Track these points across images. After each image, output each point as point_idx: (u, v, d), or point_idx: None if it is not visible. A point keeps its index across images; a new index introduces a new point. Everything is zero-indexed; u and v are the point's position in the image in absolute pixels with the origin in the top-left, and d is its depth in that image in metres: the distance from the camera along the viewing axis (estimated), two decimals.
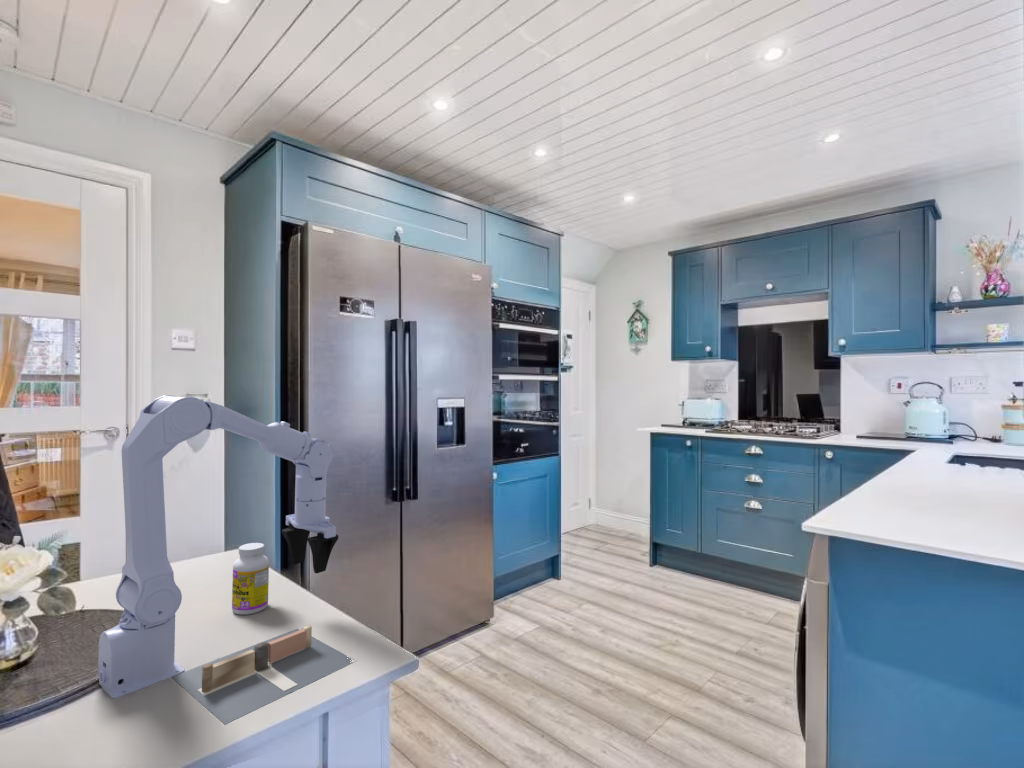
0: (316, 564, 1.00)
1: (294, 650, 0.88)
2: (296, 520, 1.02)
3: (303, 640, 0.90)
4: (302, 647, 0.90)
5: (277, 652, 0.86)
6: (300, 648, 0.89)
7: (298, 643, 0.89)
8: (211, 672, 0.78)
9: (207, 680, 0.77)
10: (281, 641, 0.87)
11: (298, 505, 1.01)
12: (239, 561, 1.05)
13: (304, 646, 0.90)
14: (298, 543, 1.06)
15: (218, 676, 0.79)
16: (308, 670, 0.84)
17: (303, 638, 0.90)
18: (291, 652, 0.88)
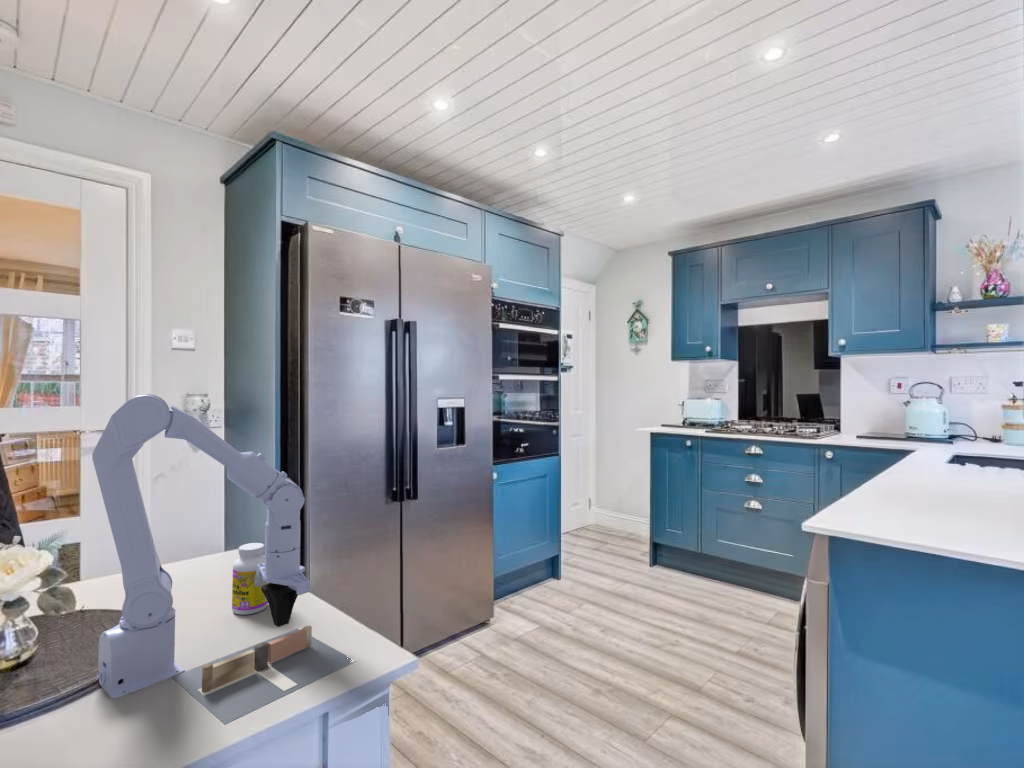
0: (277, 617, 0.92)
1: (294, 650, 0.88)
2: (266, 573, 0.91)
3: (303, 640, 0.90)
4: (302, 647, 0.90)
5: (277, 652, 0.86)
6: (300, 648, 0.89)
7: (298, 643, 0.89)
8: (211, 672, 0.78)
9: (207, 680, 0.77)
10: (281, 641, 0.87)
11: (268, 556, 0.91)
12: (239, 561, 1.05)
13: (304, 646, 0.90)
14: None
15: (218, 676, 0.79)
16: (308, 670, 0.84)
17: (303, 638, 0.90)
18: (291, 652, 0.88)
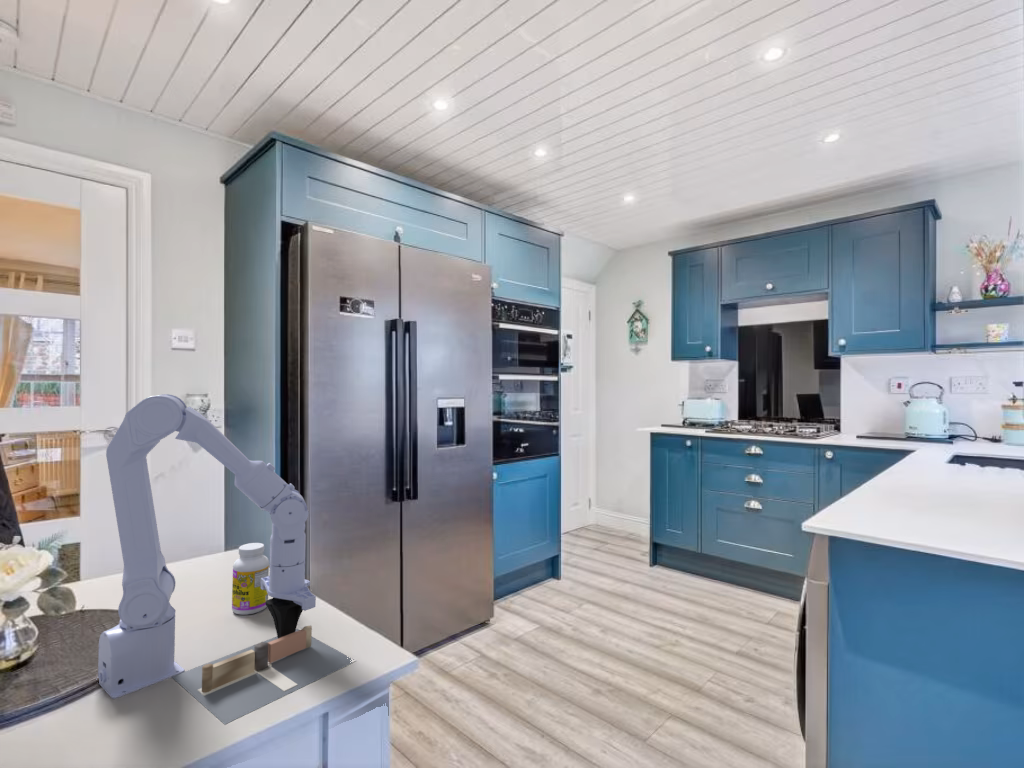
0: (282, 632, 0.90)
1: (294, 650, 0.88)
2: (271, 587, 0.89)
3: (303, 640, 0.90)
4: (302, 647, 0.90)
5: (277, 652, 0.86)
6: (300, 648, 0.89)
7: (298, 643, 0.89)
8: (211, 672, 0.78)
9: (207, 680, 0.77)
10: (281, 641, 0.87)
11: (273, 571, 0.89)
12: (239, 561, 1.05)
13: (304, 646, 0.90)
14: None
15: (218, 676, 0.79)
16: (308, 670, 0.84)
17: (303, 638, 0.90)
18: (291, 652, 0.88)
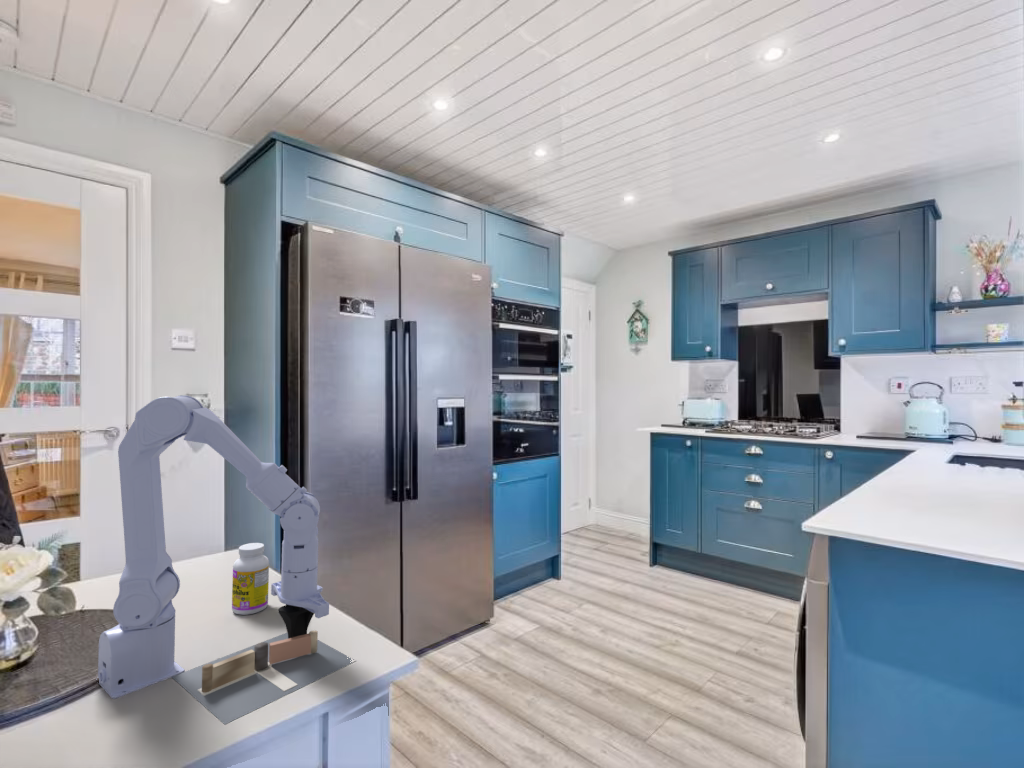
0: None
1: (297, 654, 0.87)
2: (282, 594, 0.87)
3: (308, 645, 0.88)
4: (306, 652, 0.88)
5: (278, 654, 0.85)
6: (304, 653, 0.88)
7: (301, 648, 0.88)
8: (211, 672, 0.78)
9: (207, 680, 0.77)
10: (282, 643, 0.86)
11: (285, 577, 0.86)
12: (239, 561, 1.05)
13: (308, 651, 0.88)
14: (298, 624, 0.89)
15: (218, 676, 0.79)
16: (308, 670, 0.84)
17: (307, 643, 0.88)
18: (294, 656, 0.87)
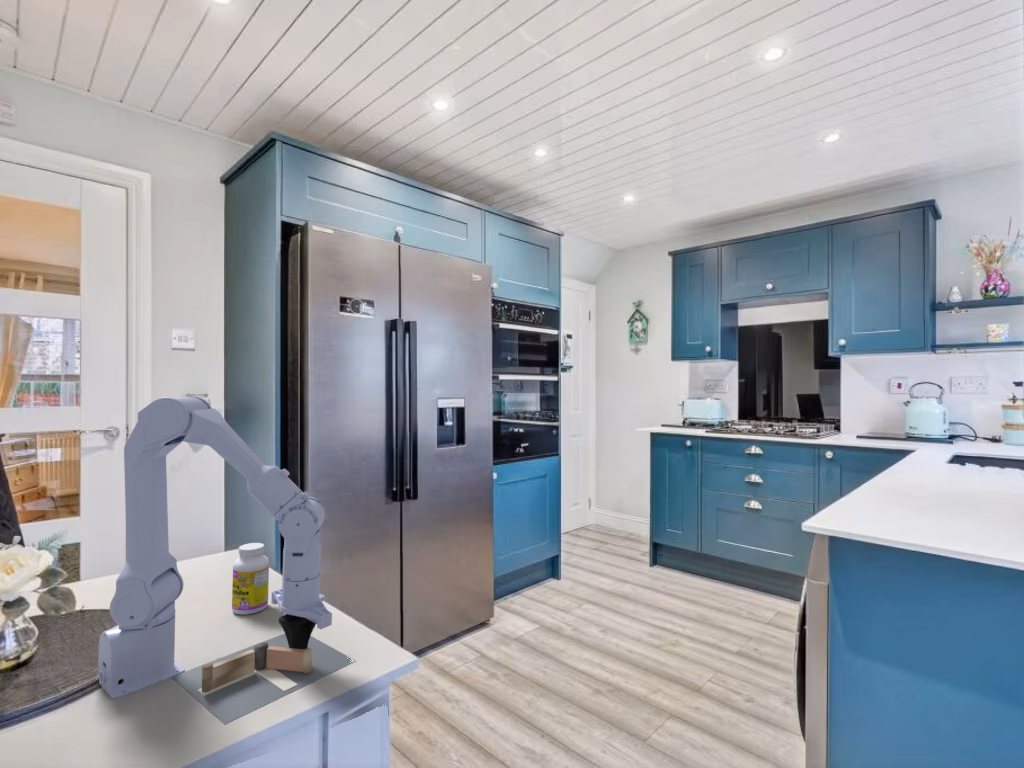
0: None
1: (290, 667, 0.83)
2: (283, 603, 0.83)
3: (300, 662, 0.83)
4: (298, 669, 0.83)
5: (273, 661, 0.84)
6: (296, 669, 0.83)
7: (294, 662, 0.83)
8: (211, 672, 0.78)
9: (207, 680, 0.77)
10: (277, 651, 0.83)
11: (286, 585, 0.83)
12: (239, 561, 1.05)
13: (300, 669, 0.83)
14: (299, 634, 0.85)
15: (218, 676, 0.79)
16: None
17: (300, 660, 0.83)
18: (287, 668, 0.83)
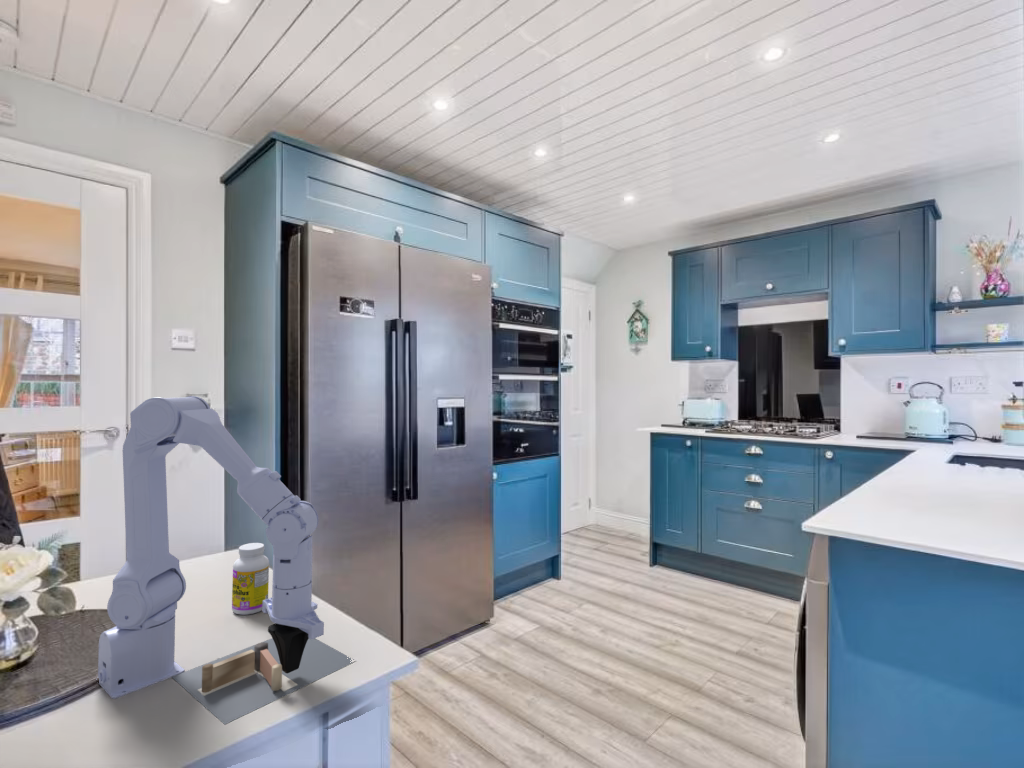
0: (286, 662, 0.80)
1: (267, 678, 0.80)
2: (274, 612, 0.80)
3: (271, 676, 0.79)
4: (270, 683, 0.79)
5: (262, 665, 0.82)
6: (269, 682, 0.79)
7: (269, 674, 0.79)
8: (211, 672, 0.78)
9: (207, 680, 0.77)
10: (263, 656, 0.82)
11: (276, 594, 0.79)
12: (239, 561, 1.05)
13: (271, 684, 0.79)
14: None
15: (218, 676, 0.79)
16: (308, 670, 0.84)
17: (271, 674, 0.79)
18: (266, 678, 0.80)
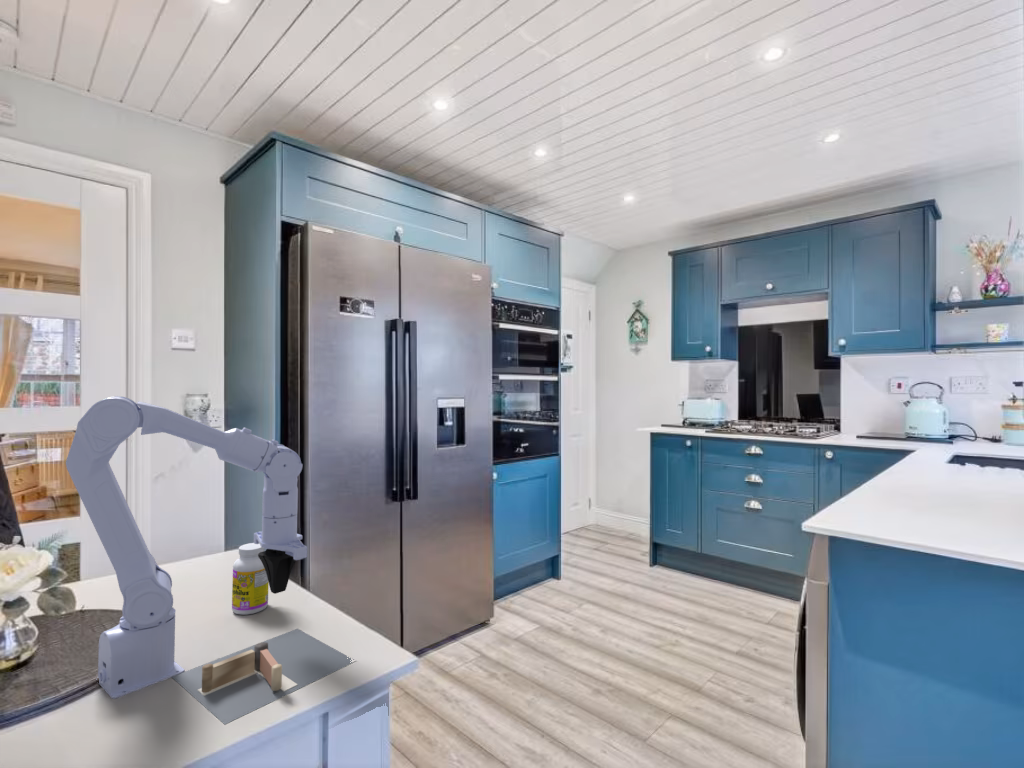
0: (274, 584, 0.91)
1: (267, 678, 0.80)
2: (263, 539, 0.91)
3: (271, 676, 0.79)
4: (270, 683, 0.79)
5: (262, 665, 0.82)
6: (269, 682, 0.79)
7: (269, 674, 0.79)
8: (211, 672, 0.78)
9: (207, 680, 0.77)
10: (263, 656, 0.82)
11: (265, 522, 0.90)
12: (239, 561, 1.05)
13: (271, 684, 0.79)
14: None
15: (218, 676, 0.79)
16: (308, 670, 0.84)
17: (271, 674, 0.79)
18: (266, 678, 0.80)
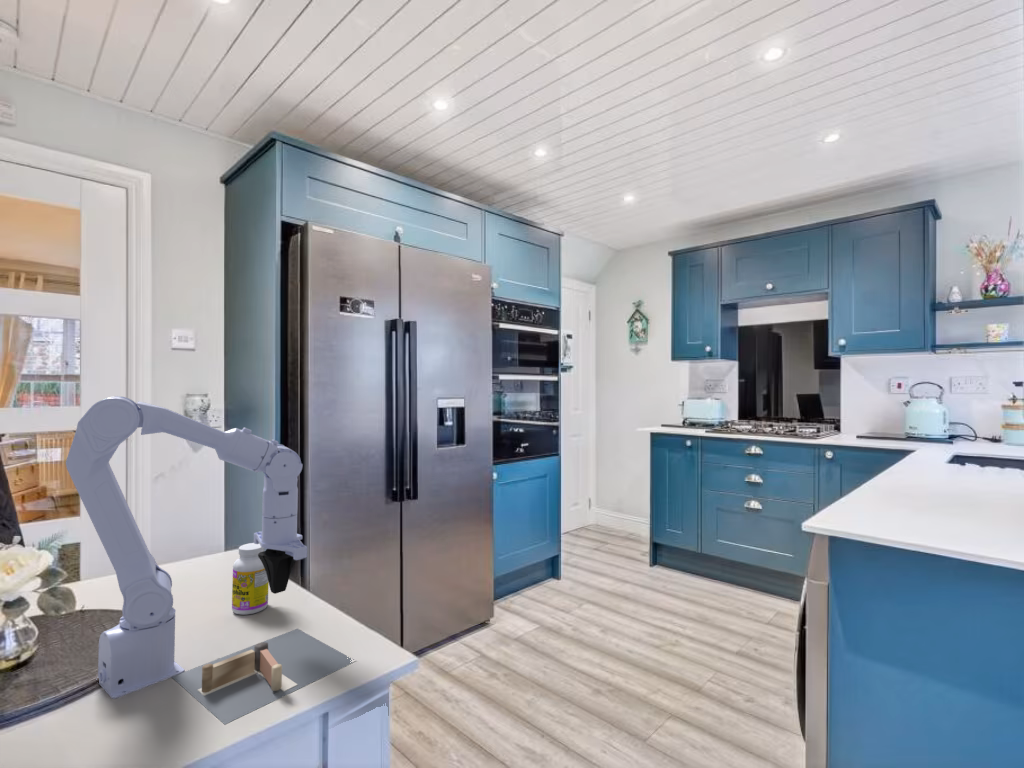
0: (274, 583, 0.91)
1: (267, 678, 0.80)
2: (263, 539, 0.91)
3: (271, 676, 0.79)
4: (270, 683, 0.79)
5: (262, 665, 0.82)
6: (269, 682, 0.79)
7: (269, 674, 0.79)
8: (211, 672, 0.78)
9: (207, 680, 0.77)
10: (263, 656, 0.82)
11: (265, 522, 0.90)
12: (239, 561, 1.05)
13: (271, 684, 0.79)
14: None
15: (218, 676, 0.79)
16: (308, 670, 0.84)
17: (271, 674, 0.79)
18: (266, 678, 0.80)
